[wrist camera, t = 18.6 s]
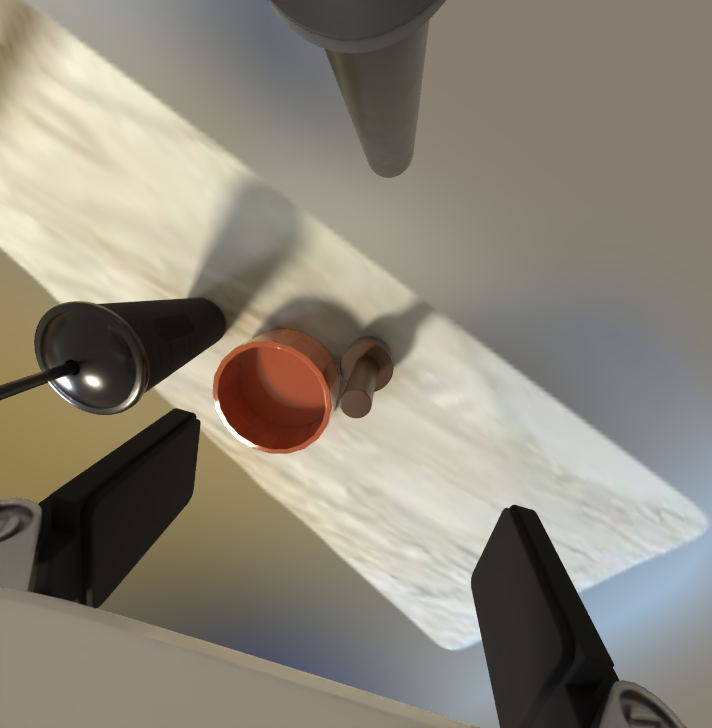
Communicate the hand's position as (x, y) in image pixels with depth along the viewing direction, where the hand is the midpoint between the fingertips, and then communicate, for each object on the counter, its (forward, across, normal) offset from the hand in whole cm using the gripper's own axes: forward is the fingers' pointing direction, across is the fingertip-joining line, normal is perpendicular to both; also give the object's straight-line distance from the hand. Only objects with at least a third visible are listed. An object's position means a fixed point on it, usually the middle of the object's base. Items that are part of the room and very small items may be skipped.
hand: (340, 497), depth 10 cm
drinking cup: (+24, +18, +4) cm, 31 cm away
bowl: (+24, +8, +8) cm, 27 cm away
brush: (+24, 0, +3) cm, 25 cm away
